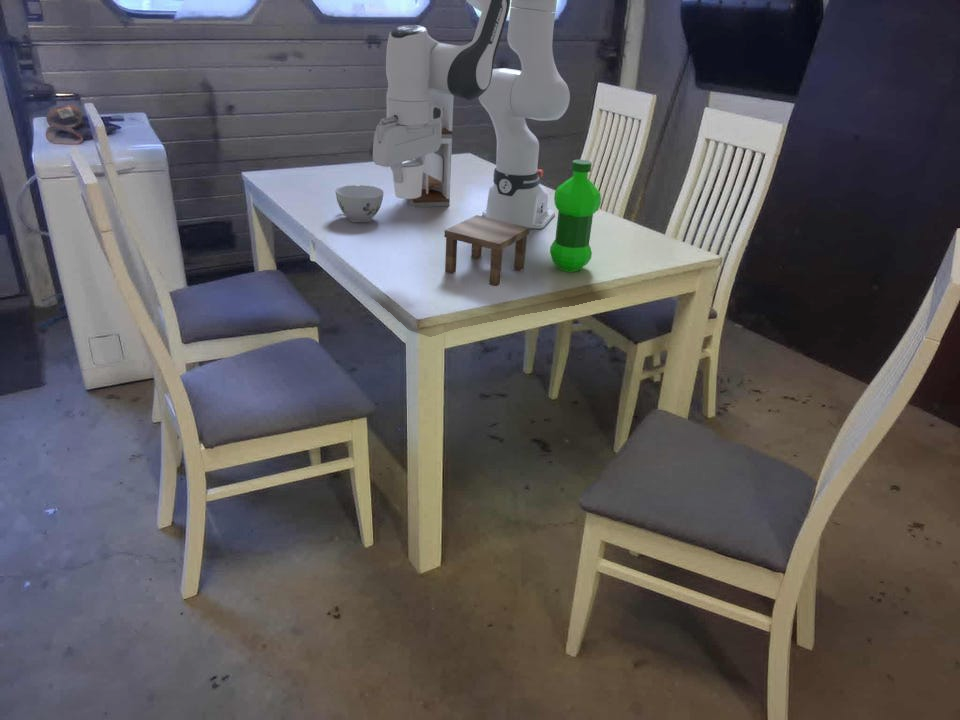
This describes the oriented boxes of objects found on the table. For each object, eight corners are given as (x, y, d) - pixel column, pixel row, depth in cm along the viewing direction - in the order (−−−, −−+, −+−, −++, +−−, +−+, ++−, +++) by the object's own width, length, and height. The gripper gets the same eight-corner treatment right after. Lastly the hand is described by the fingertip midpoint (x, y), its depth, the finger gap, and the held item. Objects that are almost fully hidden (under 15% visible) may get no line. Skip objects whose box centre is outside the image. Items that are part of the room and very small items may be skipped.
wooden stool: (474, 255, 173) (476, 215, 168) (525, 268, 167) (529, 227, 162) (443, 272, 162) (444, 230, 157) (496, 287, 156) (499, 244, 151)
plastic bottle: (539, 268, 167) (550, 161, 155) (560, 256, 175) (572, 154, 163) (577, 279, 163) (592, 170, 150) (597, 266, 170) (612, 161, 158)
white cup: (430, 195, 155) (430, 163, 152) (407, 201, 150) (406, 168, 147) (409, 189, 159) (408, 157, 156) (385, 195, 154) (384, 162, 151)
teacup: (392, 222, 190) (392, 193, 186) (350, 229, 183) (349, 199, 179) (365, 207, 200) (364, 179, 197) (324, 213, 194) (323, 184, 190)
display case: (406, 195, 213) (406, 70, 196) (440, 194, 216) (444, 71, 199) (413, 206, 204) (415, 76, 187) (449, 205, 206) (454, 77, 189)
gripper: (390, 122, 137) (390, 192, 144) (447, 108, 153) (445, 172, 159) (364, 117, 140) (366, 187, 146) (422, 104, 155) (422, 167, 162)
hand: (407, 179), depth 153 cm, fingers closed on white cup, 5 cm apart
